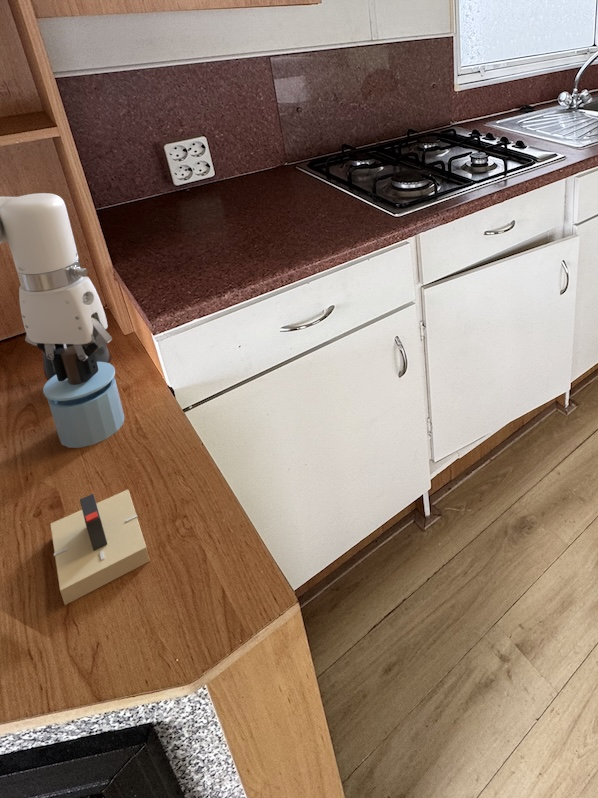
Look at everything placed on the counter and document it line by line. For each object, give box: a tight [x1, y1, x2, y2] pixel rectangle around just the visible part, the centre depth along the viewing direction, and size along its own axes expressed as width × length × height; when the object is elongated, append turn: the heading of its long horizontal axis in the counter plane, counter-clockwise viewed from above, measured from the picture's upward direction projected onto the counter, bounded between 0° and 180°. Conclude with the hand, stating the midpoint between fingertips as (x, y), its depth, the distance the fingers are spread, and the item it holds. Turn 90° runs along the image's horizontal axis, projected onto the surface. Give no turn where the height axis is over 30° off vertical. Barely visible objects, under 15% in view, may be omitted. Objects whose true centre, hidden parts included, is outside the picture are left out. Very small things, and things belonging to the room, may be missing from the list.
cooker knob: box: [79, 493, 107, 551], centre depth 75 cm, size 5×2×5 cm, turn 42°
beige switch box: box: [50, 489, 151, 606], centre depth 76 cm, size 12×9×3 cm
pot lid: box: [42, 346, 116, 401], centre depth 93 cm, size 10×10×7 cm
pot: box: [47, 377, 125, 449], centre depth 96 cm, size 9×9×8 cm
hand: (78, 375), depth 94 cm, fingers closed on pot lid, 3 cm apart
